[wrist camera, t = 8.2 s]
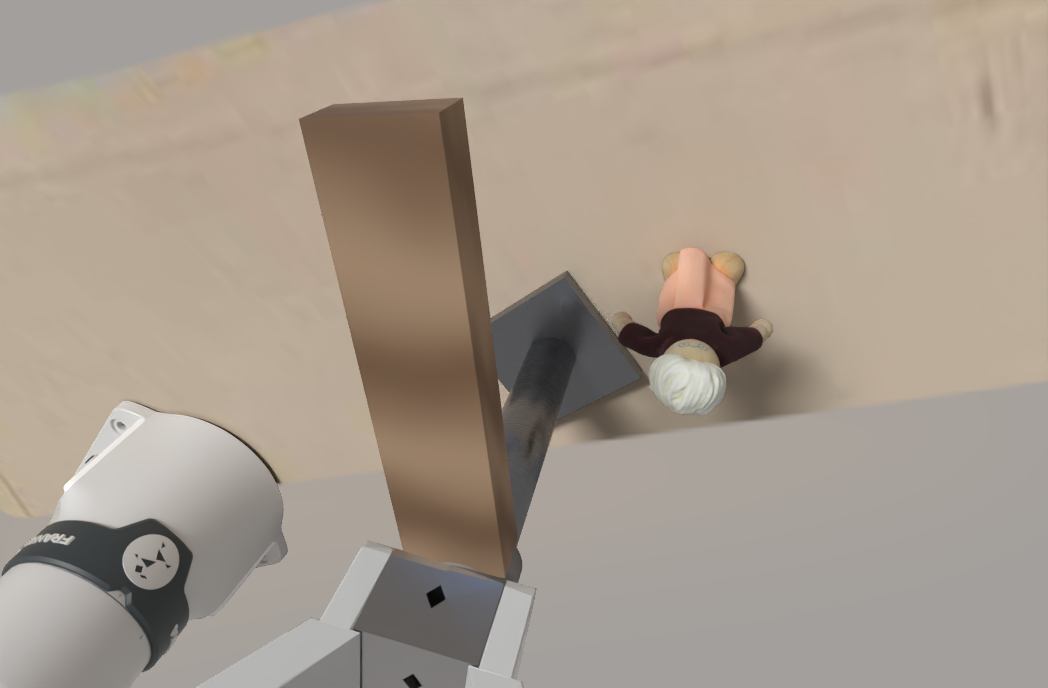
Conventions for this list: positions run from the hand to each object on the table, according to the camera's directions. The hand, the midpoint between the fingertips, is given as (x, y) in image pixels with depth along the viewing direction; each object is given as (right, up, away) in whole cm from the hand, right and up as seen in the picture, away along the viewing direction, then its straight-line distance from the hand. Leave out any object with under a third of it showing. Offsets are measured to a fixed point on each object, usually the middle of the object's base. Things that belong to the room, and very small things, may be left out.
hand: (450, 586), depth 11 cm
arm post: (+3, +4, +32) cm, 32 cm away
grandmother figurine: (+11, +8, +27) cm, 30 cm away
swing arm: (-1, +2, +13) cm, 13 cm away
